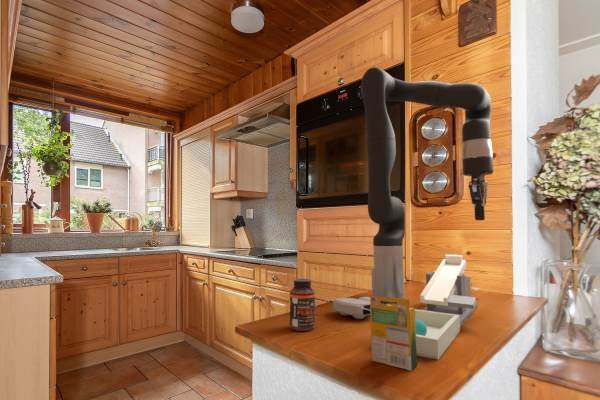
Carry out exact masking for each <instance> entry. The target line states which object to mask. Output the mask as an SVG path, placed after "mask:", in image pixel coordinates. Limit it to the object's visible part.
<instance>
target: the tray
mask: <svg viewBox="0 0 600 400" xmlns="http://www.w3.org/2000/svg"><path fill="white" fill-rule="evenodd" d="M415 319H419V320H421V321H422V322H424V324H425V325H426V328H427V333H426V335H425V336H423V335H417V334H416V350H417V356H418V357H421V358H427V359H432V360H440V359H441V357H442V356H443V354H444V353H445V351H447V349H448V348H449V347H450V345H451V343H452V342H453V341H454V340H456V337H457V336H458V335H459V333H460V332H461V327H460V315H455V314H448V313H440V312H432V311H425V310H422V309H416V308H415Z"/></svg>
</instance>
